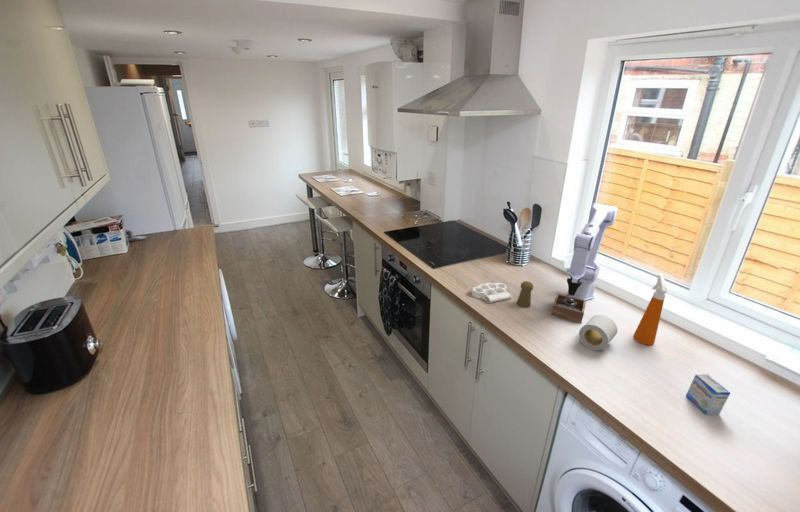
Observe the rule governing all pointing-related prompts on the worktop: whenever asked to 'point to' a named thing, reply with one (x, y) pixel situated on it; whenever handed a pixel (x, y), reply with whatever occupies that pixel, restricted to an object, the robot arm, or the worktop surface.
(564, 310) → the frame
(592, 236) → the robot arm
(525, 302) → the brown tapered figure
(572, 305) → the plunger
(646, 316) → the spray bottle
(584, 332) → the toilet paper
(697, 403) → the medicine box
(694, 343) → the worktop surface
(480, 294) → the knuckle duster
